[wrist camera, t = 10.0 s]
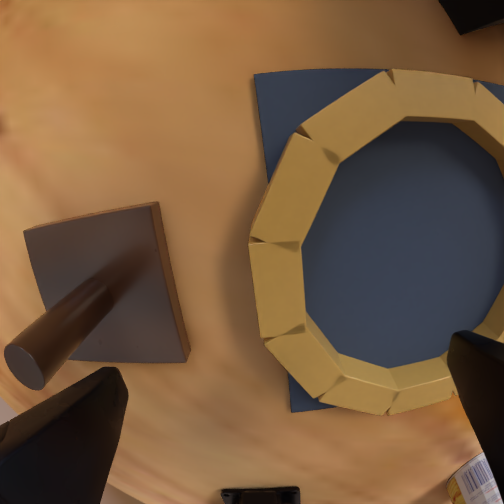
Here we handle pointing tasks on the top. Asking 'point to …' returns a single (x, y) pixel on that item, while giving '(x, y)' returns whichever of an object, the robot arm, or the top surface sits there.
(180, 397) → the top surface
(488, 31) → the top surface
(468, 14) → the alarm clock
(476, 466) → the canned food
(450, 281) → the felt mat
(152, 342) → the peg stand
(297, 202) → the hoop
